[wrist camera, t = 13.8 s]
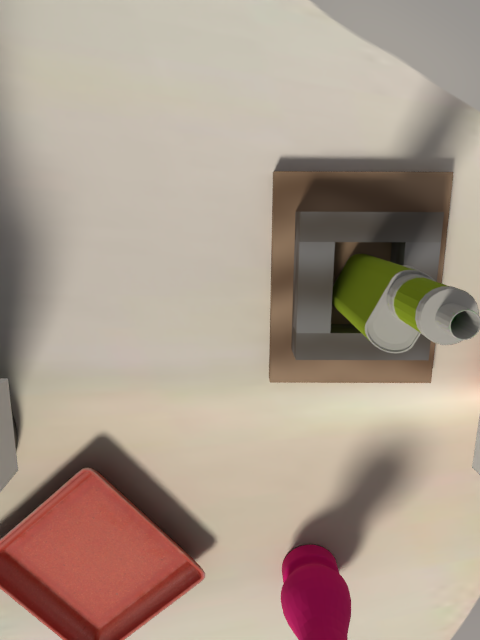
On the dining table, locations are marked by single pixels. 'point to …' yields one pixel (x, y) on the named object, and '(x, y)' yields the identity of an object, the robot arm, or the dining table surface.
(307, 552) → the pepper mill
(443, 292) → the vape
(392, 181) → the charging dock
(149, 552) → the plant saucer
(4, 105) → the dining table surface
